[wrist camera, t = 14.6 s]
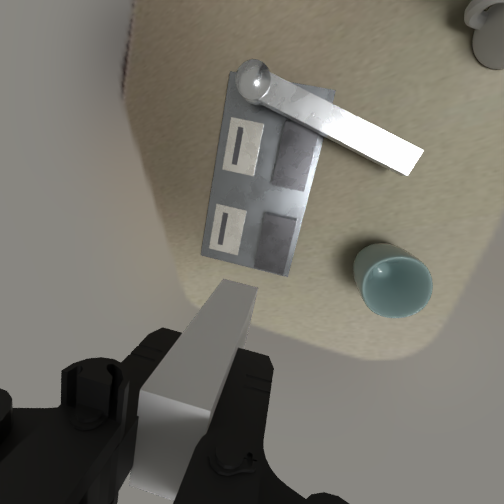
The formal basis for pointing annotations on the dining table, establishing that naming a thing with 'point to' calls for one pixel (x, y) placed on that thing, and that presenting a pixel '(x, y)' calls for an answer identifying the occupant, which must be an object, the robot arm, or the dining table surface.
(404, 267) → the cup
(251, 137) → the panel
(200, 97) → the dining table surface
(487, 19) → the cup
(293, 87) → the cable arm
